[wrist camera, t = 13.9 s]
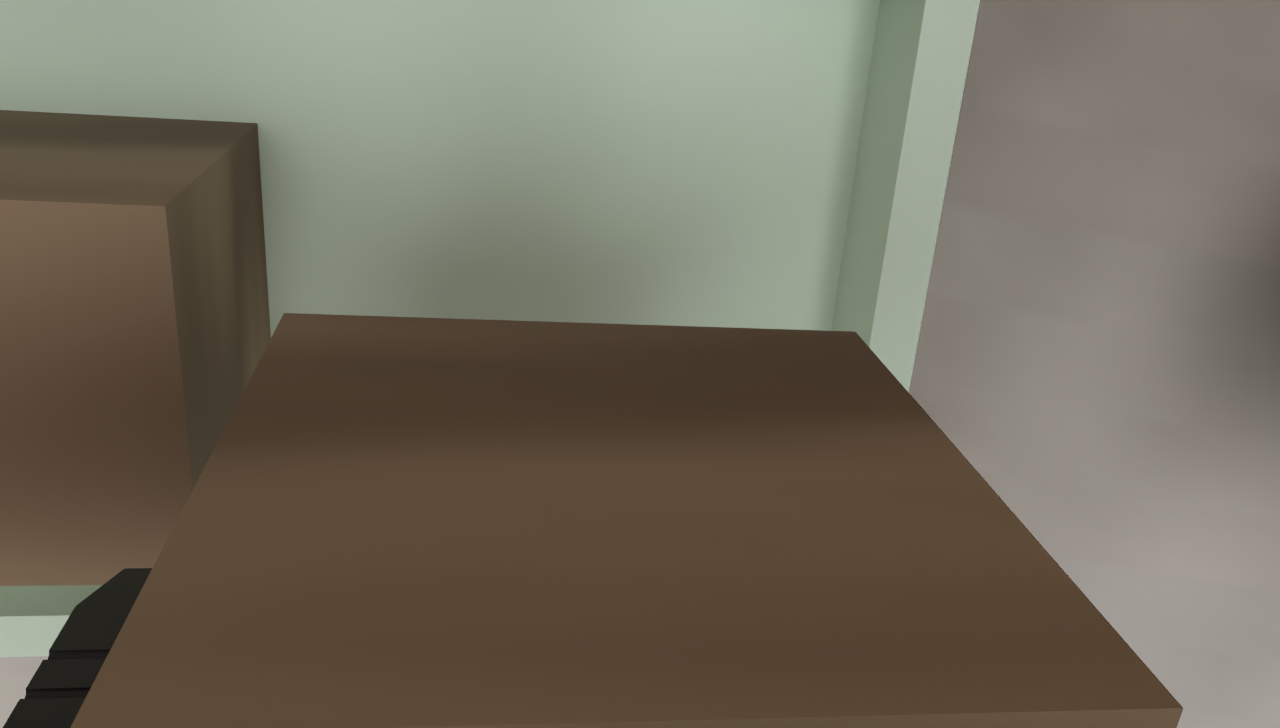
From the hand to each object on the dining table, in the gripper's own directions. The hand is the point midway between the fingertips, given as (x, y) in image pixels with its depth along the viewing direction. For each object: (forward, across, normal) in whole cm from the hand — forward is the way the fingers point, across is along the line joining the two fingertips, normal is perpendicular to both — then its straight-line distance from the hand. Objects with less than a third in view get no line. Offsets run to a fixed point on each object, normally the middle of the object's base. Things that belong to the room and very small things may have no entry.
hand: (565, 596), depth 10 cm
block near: (0, 0, 0) cm, 0 cm away
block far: (+9, +7, 0) cm, 11 cm away
